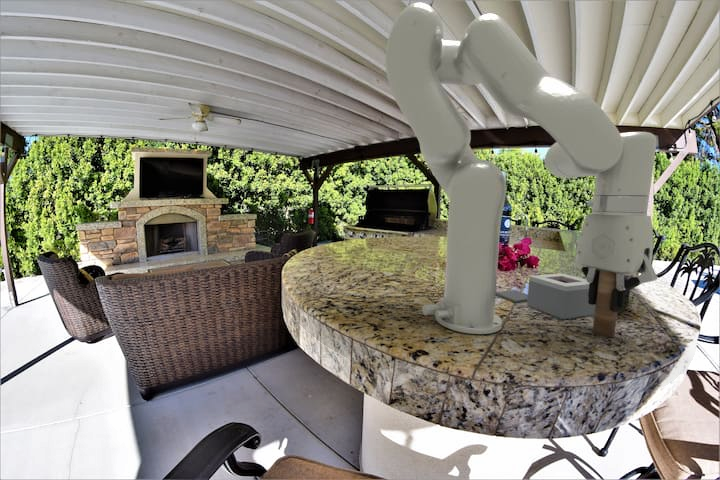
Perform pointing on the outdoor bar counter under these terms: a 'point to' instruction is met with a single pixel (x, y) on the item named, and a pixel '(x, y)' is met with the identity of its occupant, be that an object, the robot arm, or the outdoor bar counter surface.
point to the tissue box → (560, 295)
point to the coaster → (513, 296)
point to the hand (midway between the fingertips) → (606, 306)
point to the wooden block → (605, 305)
